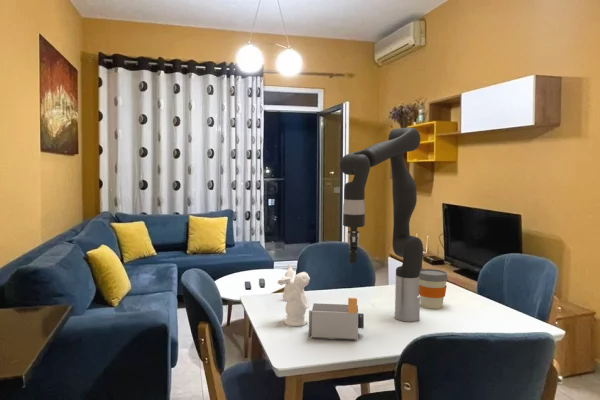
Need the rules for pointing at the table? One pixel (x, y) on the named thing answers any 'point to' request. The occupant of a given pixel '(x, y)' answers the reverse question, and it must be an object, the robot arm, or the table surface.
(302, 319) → the cherub figurine
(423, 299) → the reusable coffee cup
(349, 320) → the door
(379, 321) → the table surface
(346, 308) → the camera housing
